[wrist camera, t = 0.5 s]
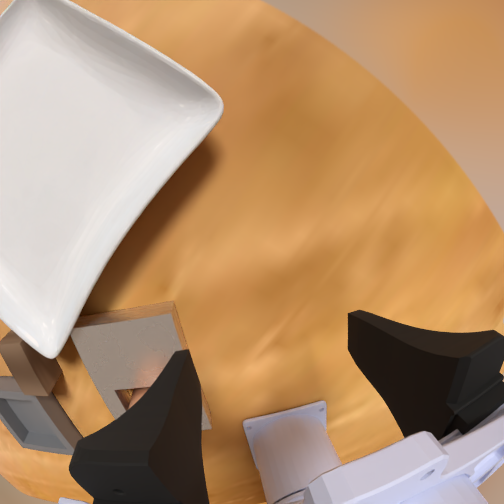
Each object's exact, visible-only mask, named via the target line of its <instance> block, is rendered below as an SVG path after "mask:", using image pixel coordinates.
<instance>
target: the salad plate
mask: <svg viewBox="0 0 504 504" xmlns="http://www.w3.org/2000/svg"><path fill="white" fill-rule="evenodd" d="M223 110H224V104H223V101H222V99H221V97H220V96H219V95H218V94H217V93H216V91H214V90H213V89H212V88H211V87H210V86H209V85H207V84H206V83H205V82H204V81H202V80H201V79H200V78H198V77H197V76H196V75H194V74H193V73H192V72H190V71H189V70H187V69H186V68H184V67H182V66H181V65H179V64H178V63H176V62H175V61H173V60H172V59H170V58H169V57H167V56H165V55H164V54H162V53H161V52H159V51H158V50H156V49H154V48H153V47H151V46H149V45H148V44H146V43H144V42H143V41H141V40H139V39H138V38H136V37H134V36H132V35H131V34H129V33H127V32H126V31H124V30H122V29H120V28H119V27H117V26H115V25H113V24H111V23H110V22H108V21H106V20H104V19H102V18H100V17H98V16H97V15H95V14H93V13H91V12H89V11H87V10H86V9H84V8H82V7H80V6H79V5H77V4H75V3H73V2H71V1H69V0H13V2H12V3H11V4H10V5H9V6H8V7H7V8H6V9H5V11H4V12H3V13H2V14H1V15H0V319H1V320H2V321H3V322H4V323H5V324H6V325H7V326H8V327H9V328H11V329H12V330H13V331H14V332H15V333H16V334H17V335H18V336H19V337H21V338H22V339H23V340H24V341H25V342H26V343H28V344H29V345H30V346H31V347H32V348H34V349H35V350H36V351H38V352H39V353H40V354H42V355H43V356H45V357H47V358H49V359H54V358H55V357H57V356H58V355H59V353H60V352H61V350H62V349H63V347H64V345H65V343H66V341H67V339H68V337H69V335H70V333H71V331H72V329H73V326H74V325H75V323H76V321H77V319H78V316H79V314H80V312H81V310H82V308H83V306H84V304H85V302H86V300H87V298H88V296H89V295H90V293H91V291H92V289H93V287H94V285H95V284H96V282H97V280H98V278H99V277H100V275H101V273H102V271H103V270H104V268H105V266H106V265H107V263H108V261H109V260H110V258H111V257H112V255H113V253H114V252H115V250H116V249H117V247H118V246H119V244H120V243H121V241H122V240H123V239H124V237H125V236H126V234H127V233H128V231H129V230H130V228H131V227H132V226H133V224H134V223H135V222H136V220H137V219H138V217H139V216H140V215H141V213H142V212H143V211H144V209H145V208H146V207H147V205H148V204H149V203H150V202H151V200H152V199H153V198H154V197H155V196H156V194H157V193H158V192H159V190H160V189H161V188H162V187H163V186H164V185H165V183H166V182H167V181H168V180H169V179H170V177H171V176H172V175H173V174H174V173H175V172H176V170H177V169H178V168H179V167H180V166H181V165H182V164H183V162H184V161H185V160H186V159H187V158H188V157H189V156H190V155H191V153H192V152H193V151H194V150H195V149H196V148H197V147H198V146H199V144H200V143H201V142H202V141H203V140H204V139H205V137H206V136H207V135H208V134H209V133H210V132H211V130H212V129H213V128H214V127H215V125H216V124H217V123H218V121H219V120H220V118H221V116H222V114H223Z"/></svg>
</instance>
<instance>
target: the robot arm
mask: <svg viewBox="0 0 504 504" xmlns="http://www.w3.org/2000/svg"><path fill="white" fill-rule="evenodd" d="M348 351H349V352H350V354H351V356H352V358H353V360H354V361H355V363H356V365H357V366H358V368H359V369H360V370H361V371H362V373H363V374H364V375H365V377H366V378H367V379H368V380H369V382H370V383H371V384H372V385H373V387H374V388H375V389H376V390H377V392H378V393H379V394H380V395H381V397H382V398H383V400H384V401H385V403H386V404H387V406H388V408H389V409H390V411H391V413H392V414H393V416H394V418H395V420H396V422H397V424H398V426H399V427H400V429H401V431H402V433H403V436H404V439H402V440H400V441H397V442H395V443H393V444H391V445H389V446H387V447H385V448H382V449H380V450H378V451H376V452H373V453H371V454H369V455H366V456H364V457H361V458H359V459H356V460H353V461H351V462H348V463H345V464H343V465H342V463H341V461H340V459H339V457H338V455H337V453H336V451H335V449H334V447H333V445H332V443H331V441H330V439H329V437H328V435H327V433H326V413H327V405H326V402H325V401H323V400H322V401H318V402H315V403H311V404H308V405H304V406H301V407H297V408H293V409H289V410H286V411H282V412H278V413H273V414H269V415H265V416H260V417H256V418H251V419H246V420H244V421H243V427H244V431H245V434H246V437H247V440H248V444H249V447H250V450H251V453H252V456H253V459H254V462H255V465H256V468H257V469H258V470H259V473H260V477H261V481H262V485H263V489H264V494H265V498H266V502H267V504H489V503H488V502H487V501H486V500H485V498H484V497H483V496H482V495H481V493H480V492H479V491H478V489H477V487H478V486H479V485H480V484H482V483H483V482H484V481H485V480H486V479H487V478H488V477H490V476H491V475H492V474H493V473H494V472H495V471H496V470H497V469H498V468H499V467H500V466H501V465H502V464H503V463H504V382H503V381H502V380H503V379H504V376H503V375H502V374H501V373H500V369H501V367H502V364H503V361H504V336H503V335H501V334H500V333H498V332H497V331H495V330H489V331H482V332H471V333H450V332H438V331H431V330H426V329H420V328H416V327H412V326H408V325H405V324H401V323H398V322H395V321H392V320H389V319H386V318H383V317H380V316H377V315H375V314H372V313H369V312H366V311H362V310H357V311H354V312H351V313H348ZM201 433H202V394H201V385H200V382H199V379H198V376H197V373H196V370H195V367H194V364H193V361H192V358H191V355H190V351H189V349H186V350H180V351H175V352H174V354H173V355H172V357H171V358H170V360H169V361H168V363H167V364H166V366H165V367H164V369H163V370H162V372H161V373H160V375H159V376H158V377H157V379H156V380H155V381H154V383H153V384H152V385H151V387H150V388H149V389H148V390H147V392H146V393H145V394H144V395H143V396H142V397H141V398H140V399H139V400H138V401H137V402H136V403H135V404H134V405H133V406H132V407H131V408H130V409H128V410H127V411H126V412H125V413H123V414H122V415H121V416H120V417H118V418H117V419H116V420H114V421H113V422H111V423H110V424H108V425H107V426H105V427H104V428H102V429H100V430H99V431H97V432H95V433H93V434H91V435H89V436H87V437H85V438H83V439H80V440H78V442H77V444H76V447H75V450H74V453H73V456H72V459H71V462H70V465H69V471H70V474H71V476H72V477H73V478H74V479H75V481H76V482H77V483H78V484H79V485H80V486H81V487H82V488H83V489H85V490H86V491H87V492H88V493H89V494H90V495H91V496H92V497H93V498H94V501H93V504H209V499H208V493H207V488H206V481H205V475H204V467H203V459H202V449H201ZM58 504H89V503H87V502H84V501H79V500H74V499H69V498H64V497H60V499H59V502H58Z"/></svg>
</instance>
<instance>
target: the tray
mask: <svg viewBox="0 0 504 504" xmlns="http://www.w3.org/2000/svg"><path fill="white" fill-rule="evenodd" d="M0 419H1V421H2V422H3V424H4V425H5V426H6V427H7V429H8V430H9V431H10V433H11V434H12V435H13V436H14V438H15V439H16V440H17V441H18V442H19V444H20V445H21V446H22V447H23V448H28V449H33V450H38V451H44V452H51V453H58V454H66V455H73V453H74V450H75V447H76V444H77V442H78V440H80V439H83V437H82V435H81V434H80V433H79V431H78V430H77V429H76V427H75V426H74V424H73V423H72V422H71V420H70V419H69V417H68V416H67V414H66V413H65V411H64V410H63V408H62V407H61V405H60V404H59V402H58V401H57V399H56V398H55V396H54V394H53V393H52V391H51V393H50V394H49V396H32V395H24V393H23V392H22V390H21V389H20V387H19V385H18V384H17V382H16V380H15V379H14V377H10V376H0Z"/></svg>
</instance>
